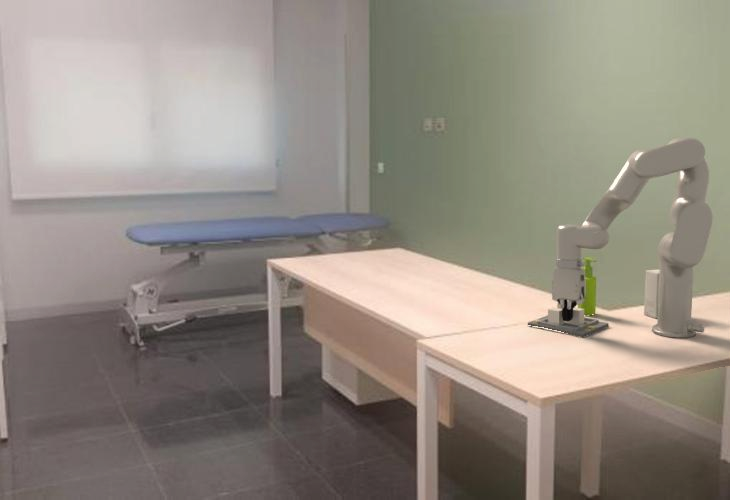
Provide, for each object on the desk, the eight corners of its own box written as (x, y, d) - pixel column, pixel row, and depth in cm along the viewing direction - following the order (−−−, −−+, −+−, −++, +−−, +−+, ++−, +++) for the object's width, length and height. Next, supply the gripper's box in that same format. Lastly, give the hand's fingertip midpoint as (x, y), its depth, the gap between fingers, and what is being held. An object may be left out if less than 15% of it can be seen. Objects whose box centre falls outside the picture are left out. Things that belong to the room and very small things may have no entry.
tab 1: (563, 324, 221) (564, 309, 220) (558, 326, 219) (559, 311, 218) (552, 322, 224) (553, 307, 223) (547, 324, 222) (548, 309, 221)
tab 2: (584, 324, 220) (584, 309, 220) (579, 325, 218) (579, 310, 218) (572, 321, 223) (573, 307, 223) (568, 323, 221) (568, 308, 221)
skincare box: (655, 319, 229) (657, 273, 227) (642, 314, 235) (644, 270, 233) (676, 316, 231) (678, 271, 229) (663, 312, 237) (664, 268, 235)
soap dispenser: (585, 317, 234) (586, 260, 230) (574, 312, 240) (575, 256, 237) (600, 315, 235) (602, 258, 232) (589, 311, 242) (590, 255, 238)
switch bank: (608, 326, 221) (608, 320, 221) (583, 337, 211) (583, 331, 210) (554, 316, 236) (554, 310, 236) (527, 326, 225) (527, 320, 225)
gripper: (596, 264, 212) (595, 322, 215) (553, 259, 223) (553, 314, 226) (584, 268, 207) (582, 326, 210) (541, 262, 218) (540, 318, 221)
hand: (567, 320), depth 218 cm, fingers closed
